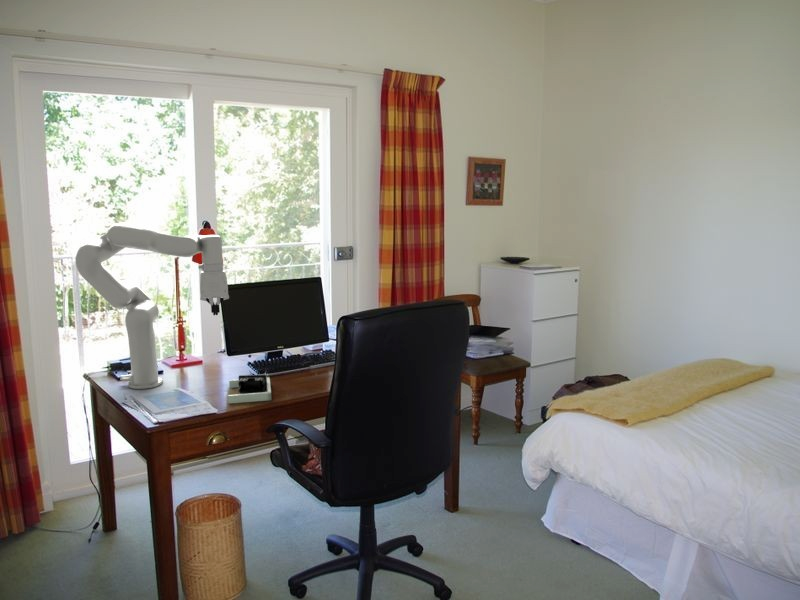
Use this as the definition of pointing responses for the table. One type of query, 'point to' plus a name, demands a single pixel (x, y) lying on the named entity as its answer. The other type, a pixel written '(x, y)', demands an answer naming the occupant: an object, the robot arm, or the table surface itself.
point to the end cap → (252, 384)
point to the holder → (249, 394)
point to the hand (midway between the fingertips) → (215, 314)
